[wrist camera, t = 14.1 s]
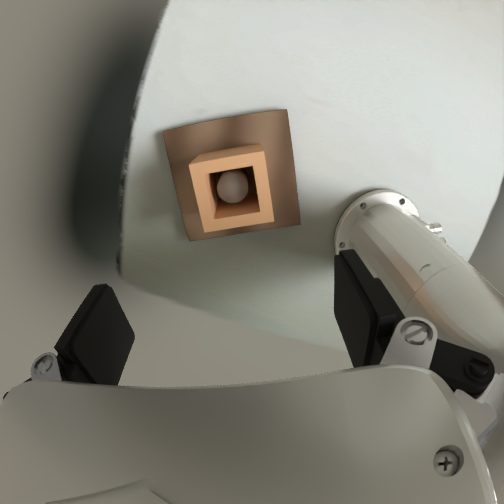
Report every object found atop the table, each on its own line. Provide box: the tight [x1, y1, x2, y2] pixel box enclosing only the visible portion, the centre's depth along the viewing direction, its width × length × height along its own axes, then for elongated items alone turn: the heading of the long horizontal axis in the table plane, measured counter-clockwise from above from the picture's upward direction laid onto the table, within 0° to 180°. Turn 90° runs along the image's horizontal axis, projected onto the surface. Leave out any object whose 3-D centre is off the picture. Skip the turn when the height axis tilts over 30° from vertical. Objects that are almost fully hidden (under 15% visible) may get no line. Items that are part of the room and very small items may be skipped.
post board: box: [163, 109, 300, 241], centre depth 28 cm, size 13×13×6 cm
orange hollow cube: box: [189, 144, 274, 233], centre depth 27 cm, size 6×6×6 cm
